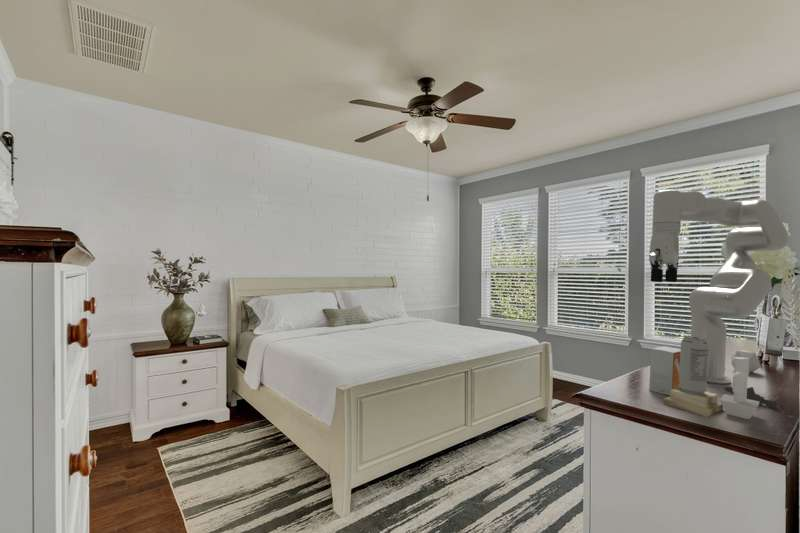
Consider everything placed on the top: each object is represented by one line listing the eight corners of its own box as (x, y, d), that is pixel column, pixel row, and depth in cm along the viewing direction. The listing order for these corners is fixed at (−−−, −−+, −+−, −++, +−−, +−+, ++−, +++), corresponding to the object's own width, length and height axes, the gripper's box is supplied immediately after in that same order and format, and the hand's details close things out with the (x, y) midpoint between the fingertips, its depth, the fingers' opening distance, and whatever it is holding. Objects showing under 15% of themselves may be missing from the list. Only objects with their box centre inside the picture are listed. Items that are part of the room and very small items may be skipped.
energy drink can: (696, 388, 109) (699, 335, 109) (711, 396, 103) (714, 340, 103) (674, 387, 110) (676, 334, 110) (687, 394, 104) (690, 338, 104)
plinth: (680, 398, 113) (681, 384, 113) (722, 409, 105) (723, 395, 105) (663, 403, 108) (664, 389, 108) (707, 416, 99) (707, 401, 99)
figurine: (718, 414, 101) (721, 357, 101) (724, 406, 107) (726, 352, 107) (756, 423, 96) (758, 363, 95) (759, 414, 102) (762, 357, 102)
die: (737, 369, 151) (722, 349, 151) (764, 362, 145) (749, 341, 146) (740, 381, 145) (724, 360, 145) (768, 375, 139) (752, 352, 139)
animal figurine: (775, 411, 109) (780, 394, 108) (774, 415, 106) (780, 398, 105) (723, 392, 117) (727, 377, 116) (720, 395, 114) (725, 380, 113)
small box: (671, 396, 114) (673, 352, 114) (648, 390, 119) (650, 348, 119) (683, 392, 119) (685, 349, 118) (660, 386, 124) (662, 345, 124)
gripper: (665, 231, 134) (663, 280, 134) (640, 227, 125) (638, 281, 125) (691, 230, 128) (689, 282, 128) (666, 226, 118) (663, 282, 119)
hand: (663, 281), depth 126 cm, fingers open, 9 cm apart
